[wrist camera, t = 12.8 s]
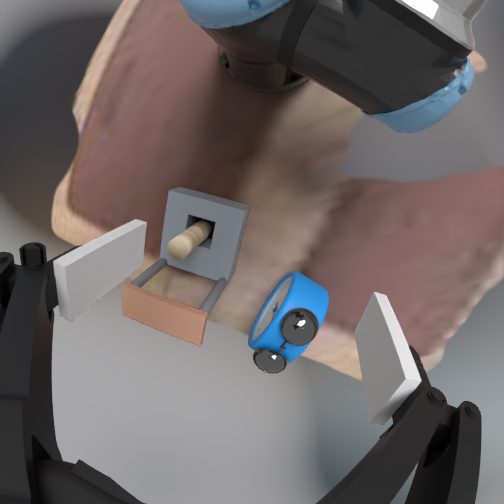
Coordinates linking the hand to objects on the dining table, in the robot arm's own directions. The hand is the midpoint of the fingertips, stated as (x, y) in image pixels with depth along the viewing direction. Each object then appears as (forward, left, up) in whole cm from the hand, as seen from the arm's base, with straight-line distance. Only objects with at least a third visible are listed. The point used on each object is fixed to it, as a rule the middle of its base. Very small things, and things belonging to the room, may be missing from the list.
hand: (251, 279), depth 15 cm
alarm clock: (+16, +5, -29) cm, 33 cm away
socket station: (+11, -11, -29) cm, 33 cm away
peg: (+8, -11, -29) cm, 32 cm away
